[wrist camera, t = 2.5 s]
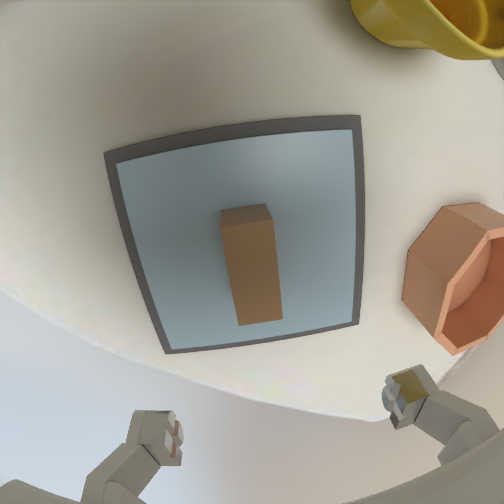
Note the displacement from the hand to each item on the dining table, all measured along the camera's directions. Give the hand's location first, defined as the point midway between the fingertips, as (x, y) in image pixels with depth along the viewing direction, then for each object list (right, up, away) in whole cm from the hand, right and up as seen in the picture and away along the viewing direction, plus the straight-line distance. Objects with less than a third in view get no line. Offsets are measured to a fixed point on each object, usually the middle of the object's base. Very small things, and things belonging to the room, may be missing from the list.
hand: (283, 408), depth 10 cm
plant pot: (+9, +24, +5) cm, 26 cm away
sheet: (-1, +6, +12) cm, 13 cm away
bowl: (+19, +4, +15) cm, 24 cm away
